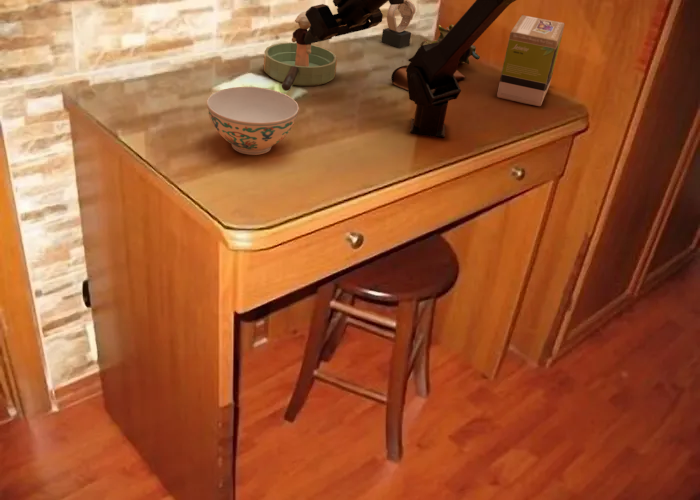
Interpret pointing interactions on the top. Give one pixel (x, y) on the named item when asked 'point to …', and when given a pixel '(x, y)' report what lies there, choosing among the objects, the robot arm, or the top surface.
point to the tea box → (530, 60)
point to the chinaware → (252, 117)
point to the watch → (398, 34)
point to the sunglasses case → (401, 77)
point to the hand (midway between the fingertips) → (320, 38)
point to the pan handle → (290, 78)
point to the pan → (316, 73)
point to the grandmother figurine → (302, 40)
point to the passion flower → (466, 55)
